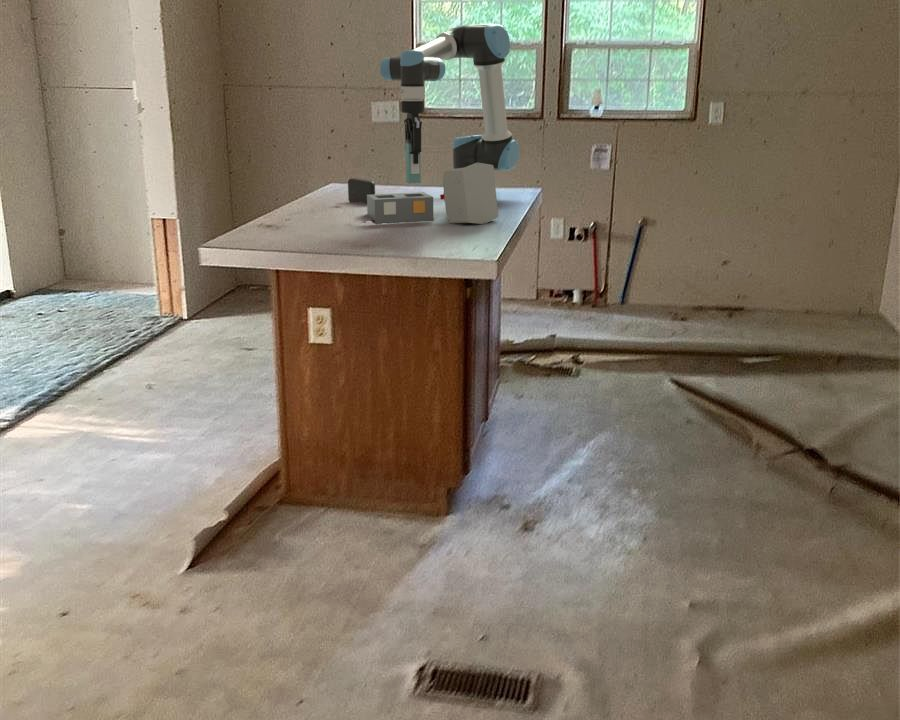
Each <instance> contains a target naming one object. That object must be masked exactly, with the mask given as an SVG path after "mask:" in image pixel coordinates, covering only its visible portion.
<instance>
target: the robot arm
mask: <svg viewBox="0 0 900 720" xmlns="http://www.w3.org/2000/svg"><path fill="white" fill-rule="evenodd" d="M510 48H511V40H510V36H509V33H508V31H507V29H506V28H505V27H504V26H503V25H502V24H498V23H495V24H494V23H477V24H476V23H473V24H469V23H467V24H462V25H458V26H455V27H452V28H450V29H447V30H445V31H444V32H441V33H439V34H437V36H436V37H435V39H433V40H431V41H428V42H427V43H424V44H422V45H420V46H417V47H416V48H414V49H411V50H410V49H409V50H402V51H401V52H400V55H398V56H393V57H392V56H389V57H384V58H383V59H382V60H381V61H380V64H379V65H380V66H379V71H380V74H381V77H382V78H383V79H384V80H385V81H392V82H396V81H397V82H398V81H400V89H399V93H401V94H400V98H401V102H400V104H401V105H400V106H401V108H400V109H401V110H400V111H401V113H403V114H406V118H405V119H403V123H404V140H405V139H411V148H412V152H410V154H411V174H419V153H420V154H421V152H422V124H423V122H422V121H421V119H420V117H419V116H420V115H419V114H422V113H424V112H425V101H424V99H425V84H424V83H425V82H436V81H440V80H442V78H443V77H444V76H445V74H446V69H447V68H446V64H445V61H450V60H452V59H463V58H464V59H472V60H473V61H472V62H473V66H474V67H475V68H477V69H478V76H479V77H478V79H479V89H480V98H481V105H482V106H481V107H482V115H483V116H482V117H483V125H484V133H483V134H475V135H466V136H458V137H455V138H454V139H453V143H452V145H453V146H452V159H453V160H452V161H453V168H452V169H458V168H465V167H467V166H470V165H472V164H475V163H484V164H490V165H493V166H494V171H498V172H502V171H506V172H507V171H510V170H513V169H514V167H515V166H516V165H517V162H518V160H519V155H520V144H519V143H518V141H517V140H515V139H513V134H512V132H511V131H510V130H508V123H507V122H508V121H507V110H506V101H505V91H504V90H505V89H504V79H503V69H502V66H503V65H504V63H505V62H506V57H508V56H509V53H510ZM404 145H405V146H404V149H405V150H406V144H405V143H404Z"/></svg>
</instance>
